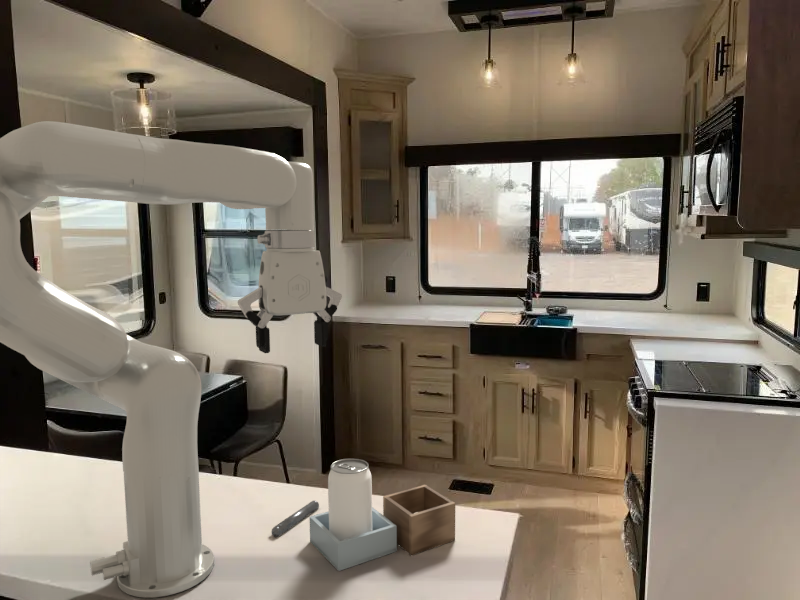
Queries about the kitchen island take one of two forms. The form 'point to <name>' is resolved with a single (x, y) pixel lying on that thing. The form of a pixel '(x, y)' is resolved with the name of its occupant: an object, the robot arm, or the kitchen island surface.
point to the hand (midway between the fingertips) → (293, 348)
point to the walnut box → (420, 518)
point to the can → (350, 498)
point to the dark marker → (294, 518)
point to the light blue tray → (353, 541)
